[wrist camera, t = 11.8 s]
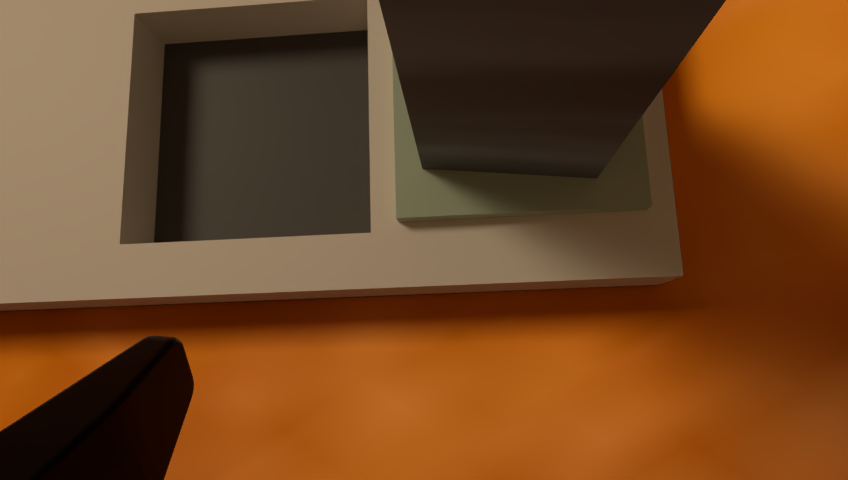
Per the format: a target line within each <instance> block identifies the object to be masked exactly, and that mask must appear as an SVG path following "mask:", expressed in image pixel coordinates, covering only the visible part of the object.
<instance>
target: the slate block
mask: <svg viewBox="0 0 848 480" xmlns="http://www.w3.org/2000/svg"><path fill="white" fill-rule="evenodd" d="M725 1H726V0H379V3H380V7H381V11H382V15H383V18H384V22H385V26H386V30H387V34H388V38H389V42H390V46H391V49H392V53H393V57H394V61H395V65H396V69H397V73H398V76H399V80H400V84H401V88H402V92H403V96H404V100H405V104H406V107H407V111H408V115H409V119H410V123H411V127H412V131H413V135H414V138H415V142H416V146H417V150H418V154H419V158H420V162H421V166H422V169H435V170H454V171H472V172H490V173H508V174H526V175H544V176H562V177H580V178H598V176H599V175H600V173H601V172H602V171H603V169H604V168H605V166H606V165H607V164H608V162H609V161H610V160H611V158H612V157H613V155H614V154H615V153H616V151H617V150H618V149H619V147H620V146H621V144H622V143H623V142H624V140H625V139H626V137H627V136H628V135H629V133H630V132H631V131H632V129H633V128H634V126H635V125H636V124H637V122H638V121H639V120H640V118H641V117H642V115H643V114H644V113H645V111H646V110H647V108H648V107H649V106H650V104H651V103H652V102H653V100H654V99H655V97H656V96H657V95H658V93H659V92H660V91H661V89H662V88H663V86H664V85H665V84H666V82H667V81H668V79H669V78H670V77H671V75H672V74H673V73H674V71H675V70H676V68H677V67H678V66H679V64H680V63H681V62H682V60H683V59H684V57H685V56H686V55H687V53H688V52H689V50H690V49H691V48H692V46H693V45H694V44H695V42H696V41H697V39H698V38H699V37H700V35H701V34H702V32H703V31H704V30H705V28H706V27H707V26H708V24H709V23H710V21H711V20H712V19H713V17H714V16H715V15H716V13H717V12H718V10H719V9H720V8H721V6H722V5H723V3H724V2H725Z"/></svg>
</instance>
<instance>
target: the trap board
mask: <svg viewBox="0 0 848 480" xmlns="http://www.w3.org/2000/svg"><path fill="white" fill-rule="evenodd" d="M682 276H684V274H683V266H682V257H681V248H680V240H679V231H678V222H677V214H676V205H675V196H674V188H673V179H672V170H671V161H670V153H669V144H668V135H667V127H666V118H665V109H664V101H663V92H662V89H661V91H660V92H659V93H658V95H657V96H656V97H655V99H654V100H653V102H652V103H651V104H650V106H649V107H648V108H647V110H646V111H645V113H644V114H643V115H642V117H641V118H640V120H639V121H638V122H637V124H636V125H635V126H634V128H633V129H632V131H631V132H630V133H629V135H628V136H627V137H626V139H625V140H624V142H623V143H622V144H621V146H620V147H619V149H618V150H617V151H616V153H615V154H614V155H613V157H612V158H611V160H610V161H609V162H608V164H607V165H606V166H605V168H604V169H603V171H602V172H601V173H600V175H599V176H598V178H580V177H562V176H544V175H526V174H508V173H490V172H472V171H454V170H435V169H422V166H421V162H420V158H419V154H418V150H417V146H416V142H415V138H414V135H413V131H412V127H411V123H410V119H409V115H408V111H407V107H406V104H405V100H404V96H403V92H402V88H401V84H400V80H399V76H398V73H397V69H396V65H395V61H394V57H393V53H392V49H391V46H390V42H389V38H388V34H387V30H386V26H385V22H384V18H383V15H382V11H381V7H380V3H379V0H0V311H9V310H34V309H59V308H85V307H110V306H135V305H160V304H185V303H211V302H236V301H261V300H286V299H311V298H336V297H362V296H387V295H412V294H437V293H462V292H488V291H513V290H538V289H563V288H588V287H613V286H639V285H660V284H662V283H665V282H668V281H671V280H673V279H676V278H679V277H682Z"/></svg>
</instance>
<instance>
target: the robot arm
mask: <svg viewBox="0 0 848 480" xmlns="http://www.w3.org/2000/svg"><path fill="white" fill-rule="evenodd" d="M193 389H194V382H193V376H192V373H191V370H190V366H189V363H188V360H187V357H186V353H185V350H184V347H183V344H182V342H181V341H180V340H179V339H177V338H175V337H163V336H148V337H146V338H144V339H142V340H140V341H139V342H137V343H136V344H134V345H133V346H131V347H130V348H128V349H127V350H125V351H124V352H122V353H120V354H119V355H117V356H116V357H114V358H113V359H111V360H110V361H108V362H107V363H105V364H103V365H102V366H100V367H99V368H97V369H96V370H94V371H93V372H91V373H90V374H88V375H87V376H85V377H83V378H82V379H80V380H79V381H77V382H76V383H74V384H73V385H71V386H70V387H68V388H66V389H65V390H63V391H62V392H60V393H59V394H57V395H56V396H54V397H53V398H51V399H50V400H48V401H46V402H45V403H43V404H42V405H40V406H39V407H37V408H36V409H34V410H33V411H31V412H29V413H28V414H26V415H25V416H23V417H22V418H20V419H19V420H17V421H16V422H14V423H13V424H11V425H9V426H8V427H6V428H5V429H3V430H2V431H0V480H164V478H165V475H166V472H167V469H168V466H169V463H170V460H171V457H172V454H173V451H174V448H175V445H176V442H177V439H178V437H179V434H180V431H181V428H182V425H183V422H184V419H185V416H186V413H187V410H188V407H189V404H190V401H191V398H192V395H193Z"/></svg>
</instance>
